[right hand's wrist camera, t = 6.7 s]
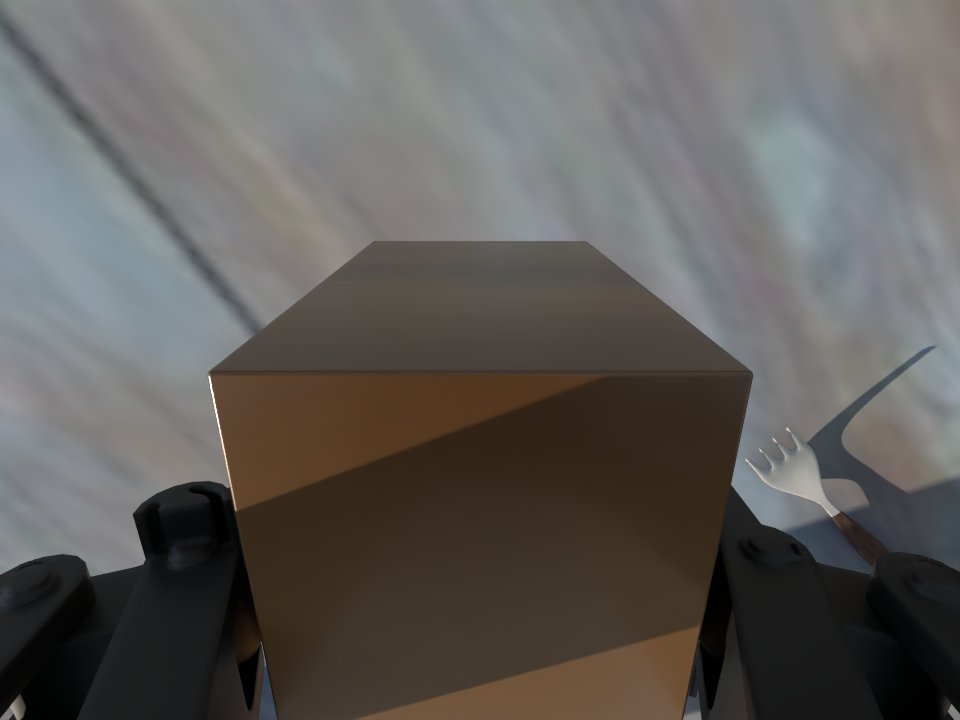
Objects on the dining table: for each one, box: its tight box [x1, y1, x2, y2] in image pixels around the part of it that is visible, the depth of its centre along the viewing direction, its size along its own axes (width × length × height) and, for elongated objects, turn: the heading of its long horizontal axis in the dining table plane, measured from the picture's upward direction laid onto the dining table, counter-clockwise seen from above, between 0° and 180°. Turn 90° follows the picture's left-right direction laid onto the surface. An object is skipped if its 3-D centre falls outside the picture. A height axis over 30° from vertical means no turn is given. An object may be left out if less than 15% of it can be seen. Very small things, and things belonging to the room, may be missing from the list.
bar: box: [208, 241, 753, 720], centre depth 13 cm, size 23×6×9 cm, turn 0°
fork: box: [746, 427, 890, 567], centre depth 25 cm, size 3×16×2 cm, turn 47°
